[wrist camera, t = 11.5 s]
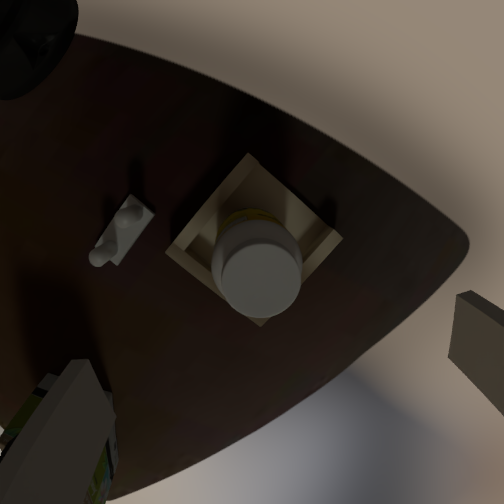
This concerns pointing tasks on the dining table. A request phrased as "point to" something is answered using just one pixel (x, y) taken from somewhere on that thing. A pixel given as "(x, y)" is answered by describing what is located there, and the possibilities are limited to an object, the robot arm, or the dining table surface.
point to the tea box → (109, 455)
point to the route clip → (121, 232)
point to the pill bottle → (256, 263)
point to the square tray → (260, 196)
